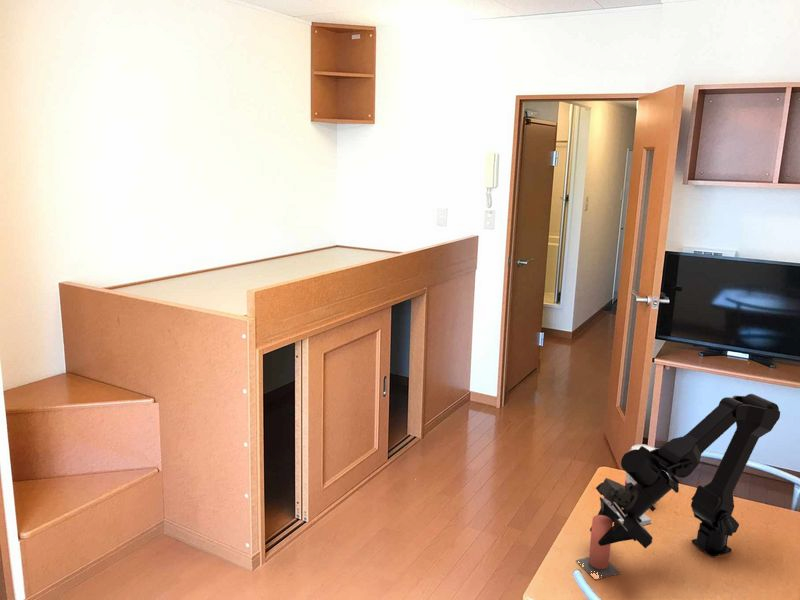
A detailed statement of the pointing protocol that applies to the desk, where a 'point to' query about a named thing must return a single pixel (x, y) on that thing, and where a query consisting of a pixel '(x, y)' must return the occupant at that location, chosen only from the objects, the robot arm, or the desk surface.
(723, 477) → the robot arm
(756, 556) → the desk surface
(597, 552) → the red plug
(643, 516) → the plug tray
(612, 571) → the pad
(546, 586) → the desk surface
